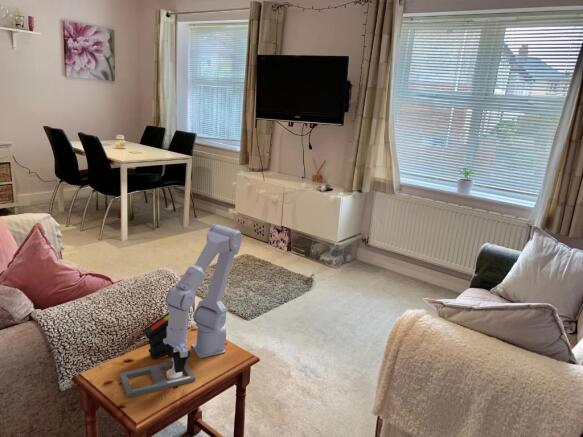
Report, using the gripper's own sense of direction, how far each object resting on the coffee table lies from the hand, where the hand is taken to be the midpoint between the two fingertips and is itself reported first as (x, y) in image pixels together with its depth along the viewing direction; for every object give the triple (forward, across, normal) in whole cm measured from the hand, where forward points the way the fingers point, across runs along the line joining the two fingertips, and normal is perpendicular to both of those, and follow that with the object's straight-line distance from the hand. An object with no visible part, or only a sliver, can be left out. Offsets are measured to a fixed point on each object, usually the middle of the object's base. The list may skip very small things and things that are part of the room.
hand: (174, 364), depth 133 cm
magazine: (+4, -12, 0) cm, 12 cm away
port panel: (+4, 0, -5) cm, 6 cm away
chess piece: (+4, 0, 0) cm, 4 cm away
